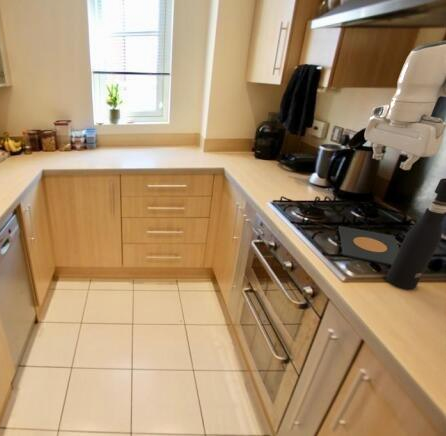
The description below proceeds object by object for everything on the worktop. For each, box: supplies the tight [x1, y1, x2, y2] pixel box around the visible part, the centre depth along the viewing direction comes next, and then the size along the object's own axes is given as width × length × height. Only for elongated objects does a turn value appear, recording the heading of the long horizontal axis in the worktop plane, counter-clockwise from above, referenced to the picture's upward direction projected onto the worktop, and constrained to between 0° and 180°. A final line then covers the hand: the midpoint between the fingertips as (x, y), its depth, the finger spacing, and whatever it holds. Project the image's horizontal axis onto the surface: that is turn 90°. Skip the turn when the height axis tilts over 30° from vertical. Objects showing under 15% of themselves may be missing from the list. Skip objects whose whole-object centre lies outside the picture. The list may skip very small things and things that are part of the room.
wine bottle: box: [385, 177, 446, 291], centre depth 80 cm, size 6×6×30 cm
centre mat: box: [338, 225, 400, 267], centre depth 103 cm, size 16×20×1 cm
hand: (390, 163), depth 88 cm, fingers open, 8 cm apart
